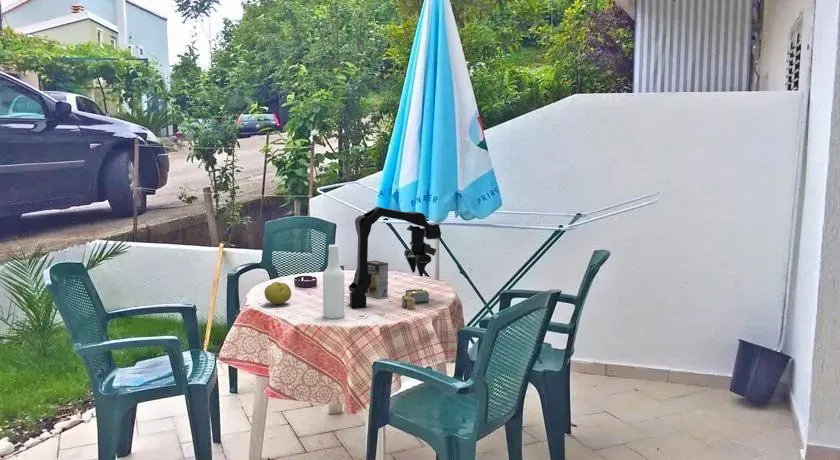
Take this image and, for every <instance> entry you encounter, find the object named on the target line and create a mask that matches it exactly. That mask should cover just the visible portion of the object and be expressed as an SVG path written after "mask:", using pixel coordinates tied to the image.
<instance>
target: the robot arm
mask: <svg viewBox="0 0 840 460" xmlns="http://www.w3.org/2000/svg"><path fill="white" fill-rule="evenodd" d="M381 217H383V218H389V219H394V220H395V219H396V220H399V221H405V222H407V223H410V224H409V226H408V227H407V228H406V230H407V231H409V232H410V233H411V235H410V238H411V240H410V241H409V245H410V249H405V250H404V251H403V253H404V256H405V259H406V261H407V263H408V265H409V268H410V270H411V273H413V274H414V273H416V268H417V272H418V275H419V277H423V275H424V271H425V269H426V266H427V265H428V264H430V263H431V262H432V256H434V257H435V255H436V252H437V249H436V248H434V247H433V246H432V245H431V244H430V243H426V242H425V239H426V240H429V241H430V240H440V239H441V237H442V232H441V228H440V224H439V223H434V224H429V222H428V220H427V217H426V215H425V214H424V213H422V212H419V211H400V210H397V209H396V210H394V209H390V208H387V207H386V208H385V207H381V206H375V207H374V208H372V209H371V210H370V211H367V212H365V213H364V214H363V215H362V214H361V215H358V216H356V218H355V221H354V224H355V225H354V226H355V231H356V234H357V256H356V257H357V260H356V262H357V263H356V266H357V267H356V270H355V273H354V277H353V281H352V282H351V283H350V284H349V285H348V290H349V303H348V306H349V307H350V308H351V309H361V308H367V307H368V306H367V296H366V291H367V289H368V288H369V287H370V283H372V282H371V277H372V274H371V273H369V272H368V270H367V262H368V259H369V258H368V257H369V256H368V253H369V252H368V250H369V248H368V247H369V237H370V234H371V231H372V227H373V226H372V225H374V224H375V223H376V222H377V221H378V220H380V218H381ZM412 224H413V225H412ZM414 225H415V226H414Z"/></svg>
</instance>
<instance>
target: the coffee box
mask: <svg viewBox="0 0 840 460" xmlns="http://www.w3.org/2000/svg"><path fill="white" fill-rule="evenodd" d="M367 270H368V272H369V273H371V274H372V277H371V282H372V283H370V287H369V288H368V289H367V291H366V293H365V295H366V297H369V298H373V299H378V300H379V299H380V300H381V299H383V298H387V297H388V296H389V295H388V293H389V289H388V288H389V286H388V285H389V262H384V261H381V260H369V261H368V260H367Z"/></svg>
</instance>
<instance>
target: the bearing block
mask: <svg viewBox="0 0 840 460" xmlns="http://www.w3.org/2000/svg"><path fill="white" fill-rule="evenodd" d="M402 302H407V310H408V311H412V310H416V304H415V299H414V298H412V297H411V296H409V295H406V294H405V295H401V303H402Z"/></svg>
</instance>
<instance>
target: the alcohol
mask: <svg viewBox="0 0 840 460" xmlns="http://www.w3.org/2000/svg"><path fill="white" fill-rule="evenodd" d="M322 304H323V305H322V309H323V310H322V315H323V317H324V318H325V319H329V320H337V319H342V318H344V316H345V313H346V312H345V307H346V306H345V305H346V304H345V273H344V271H343V269H342V268H341V265H340V260H339V245H338V244H334V243H333V244H329V245H328V257H327V266H326V268H325V270H324V271H323V274H322Z"/></svg>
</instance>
